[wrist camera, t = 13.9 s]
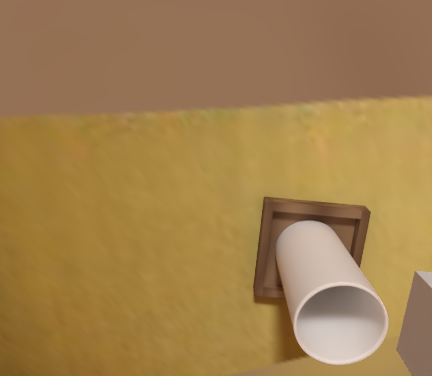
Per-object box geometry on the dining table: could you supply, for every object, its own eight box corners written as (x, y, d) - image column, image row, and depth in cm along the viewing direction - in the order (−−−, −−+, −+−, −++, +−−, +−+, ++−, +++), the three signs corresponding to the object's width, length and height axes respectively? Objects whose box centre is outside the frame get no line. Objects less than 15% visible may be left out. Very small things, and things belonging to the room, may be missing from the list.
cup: (269, 274, 51) (285, 357, 36) (282, 215, 49) (304, 276, 33) (332, 284, 51) (375, 372, 36) (347, 225, 49) (400, 291, 33)
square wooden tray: (253, 286, 53) (254, 295, 50) (264, 196, 49) (265, 202, 47) (347, 295, 52) (352, 305, 50) (364, 206, 49) (370, 211, 47)
